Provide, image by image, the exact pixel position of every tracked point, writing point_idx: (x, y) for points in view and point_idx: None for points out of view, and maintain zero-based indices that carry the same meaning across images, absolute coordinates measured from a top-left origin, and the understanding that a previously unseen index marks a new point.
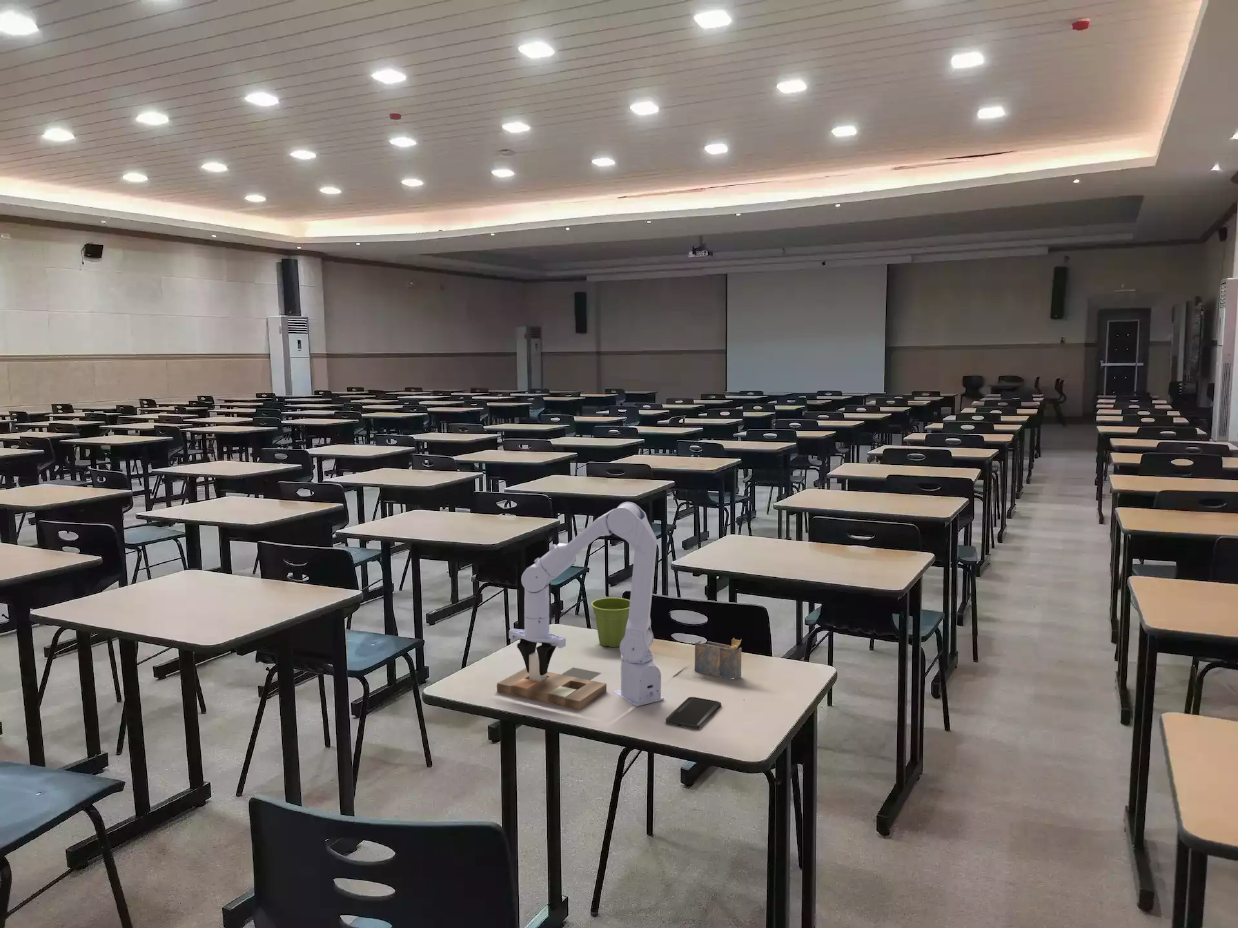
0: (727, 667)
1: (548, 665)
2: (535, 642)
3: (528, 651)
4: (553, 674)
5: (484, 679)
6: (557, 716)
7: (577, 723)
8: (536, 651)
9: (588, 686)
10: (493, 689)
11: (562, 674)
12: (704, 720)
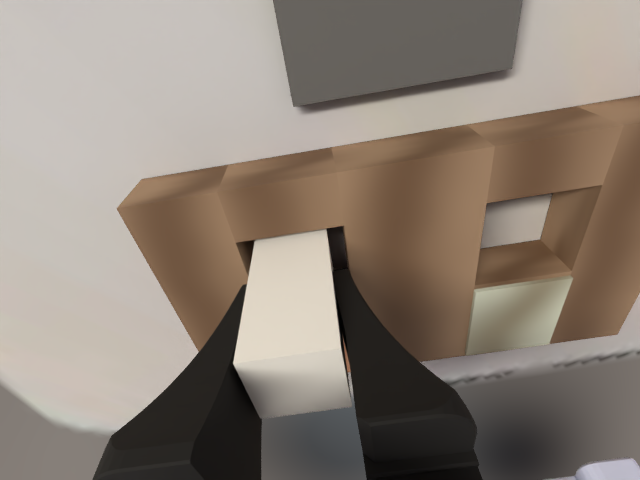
0: None
1: (360, 293)
2: (213, 445)
3: (252, 443)
4: (340, 194)
5: (47, 304)
6: (521, 350)
7: (601, 348)
8: (241, 365)
9: (619, 208)
10: (180, 338)
11: (287, 26)
12: None
